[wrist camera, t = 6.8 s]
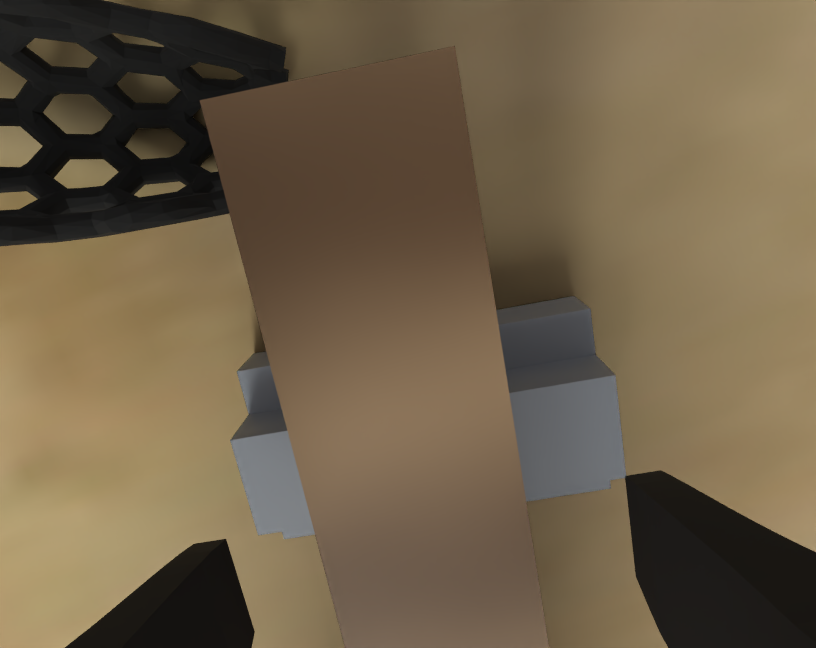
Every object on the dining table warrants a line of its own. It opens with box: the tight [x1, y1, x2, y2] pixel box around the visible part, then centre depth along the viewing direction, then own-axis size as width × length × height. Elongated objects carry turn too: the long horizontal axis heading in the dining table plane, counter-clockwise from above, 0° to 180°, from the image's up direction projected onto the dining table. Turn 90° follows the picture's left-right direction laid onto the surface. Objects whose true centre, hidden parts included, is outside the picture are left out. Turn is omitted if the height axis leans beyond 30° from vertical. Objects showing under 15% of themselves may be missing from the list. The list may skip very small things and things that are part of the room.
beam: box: [200, 46, 549, 648], centre depth 12 cm, size 16×4×4 cm, turn 11°
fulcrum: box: [230, 296, 626, 539], centre depth 15 cm, size 5×9×3 cm, turn 101°
